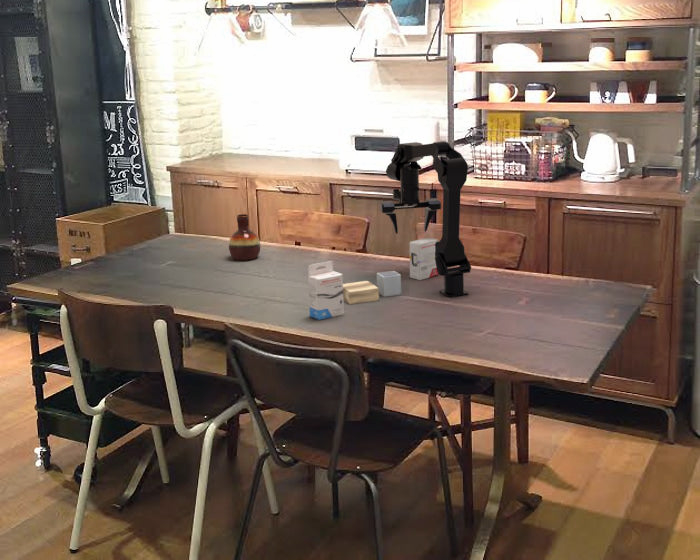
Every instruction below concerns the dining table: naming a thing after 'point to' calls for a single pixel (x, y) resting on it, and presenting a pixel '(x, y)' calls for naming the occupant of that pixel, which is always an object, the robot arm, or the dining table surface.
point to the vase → (244, 241)
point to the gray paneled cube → (389, 283)
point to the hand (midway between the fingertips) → (410, 232)
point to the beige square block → (360, 292)
